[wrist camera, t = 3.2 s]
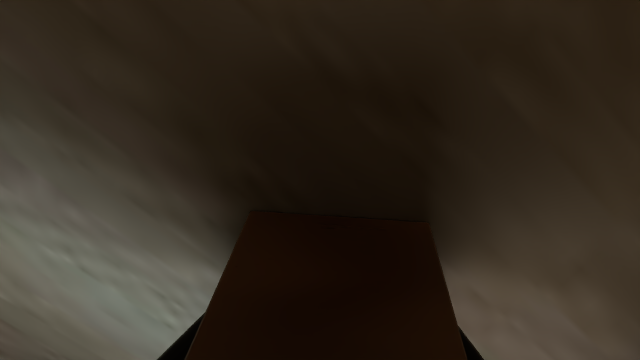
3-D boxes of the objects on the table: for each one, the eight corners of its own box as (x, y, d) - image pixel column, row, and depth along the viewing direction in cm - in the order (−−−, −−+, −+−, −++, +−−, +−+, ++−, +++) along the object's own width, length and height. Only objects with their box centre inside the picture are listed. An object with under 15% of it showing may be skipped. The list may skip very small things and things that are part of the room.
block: (429, 221, 8) (485, 417, 4) (404, 338, 10) (429, 535, 6) (250, 209, 8) (171, 384, 5) (261, 325, 10) (212, 507, 7)
